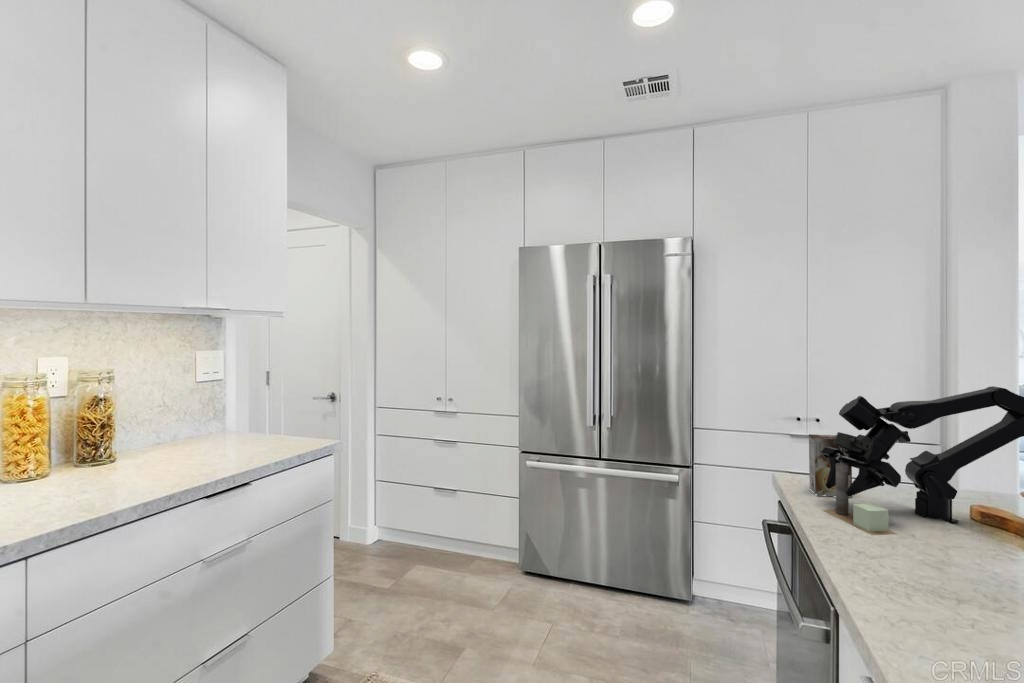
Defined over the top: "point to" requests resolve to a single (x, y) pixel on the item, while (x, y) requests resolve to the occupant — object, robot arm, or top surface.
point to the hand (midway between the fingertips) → (837, 491)
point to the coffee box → (822, 464)
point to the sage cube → (871, 517)
